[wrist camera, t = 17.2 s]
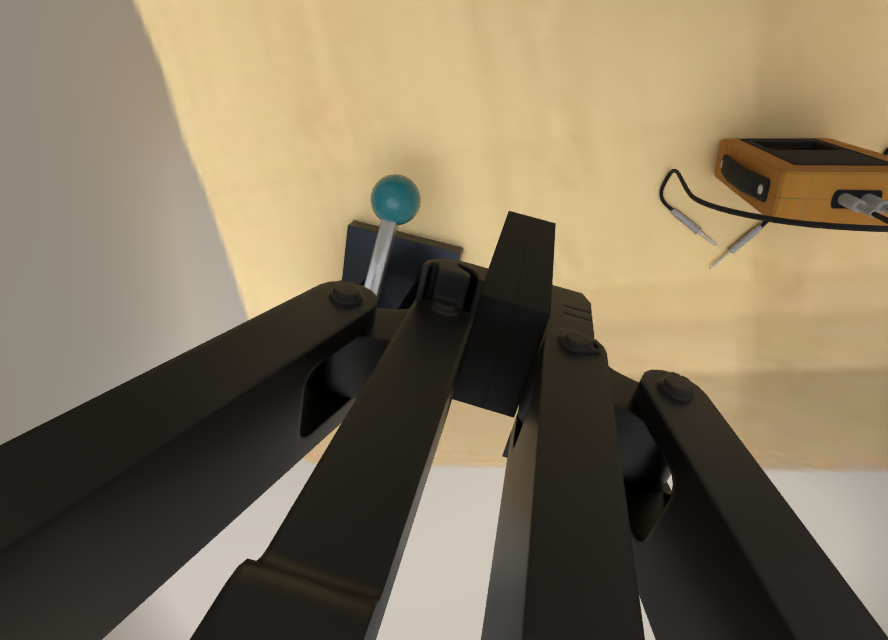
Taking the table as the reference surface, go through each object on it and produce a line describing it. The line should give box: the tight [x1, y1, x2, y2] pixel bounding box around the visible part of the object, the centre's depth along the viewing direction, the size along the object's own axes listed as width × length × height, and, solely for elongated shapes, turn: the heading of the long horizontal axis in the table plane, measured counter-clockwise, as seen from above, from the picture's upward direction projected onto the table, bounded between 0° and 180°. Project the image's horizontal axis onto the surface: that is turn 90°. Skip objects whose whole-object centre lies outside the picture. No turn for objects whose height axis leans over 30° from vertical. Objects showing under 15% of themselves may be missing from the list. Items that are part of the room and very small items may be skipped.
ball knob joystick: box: [364, 174, 420, 300], centre depth 39 cm, size 15×4×4 cm, turn 169°
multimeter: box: [660, 138, 888, 268], centre depth 32 cm, size 15×10×20 cm
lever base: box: [342, 221, 463, 310], centre depth 44 cm, size 12×10×14 cm
